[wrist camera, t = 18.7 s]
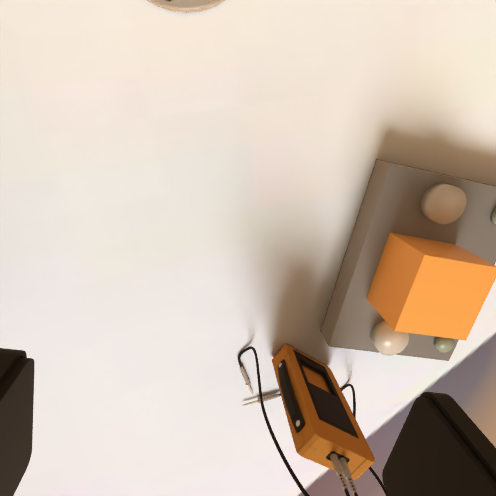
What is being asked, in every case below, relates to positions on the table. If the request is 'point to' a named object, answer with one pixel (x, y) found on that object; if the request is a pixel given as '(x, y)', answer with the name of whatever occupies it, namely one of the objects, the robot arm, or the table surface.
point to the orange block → (430, 287)
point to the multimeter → (317, 416)
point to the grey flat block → (411, 224)
